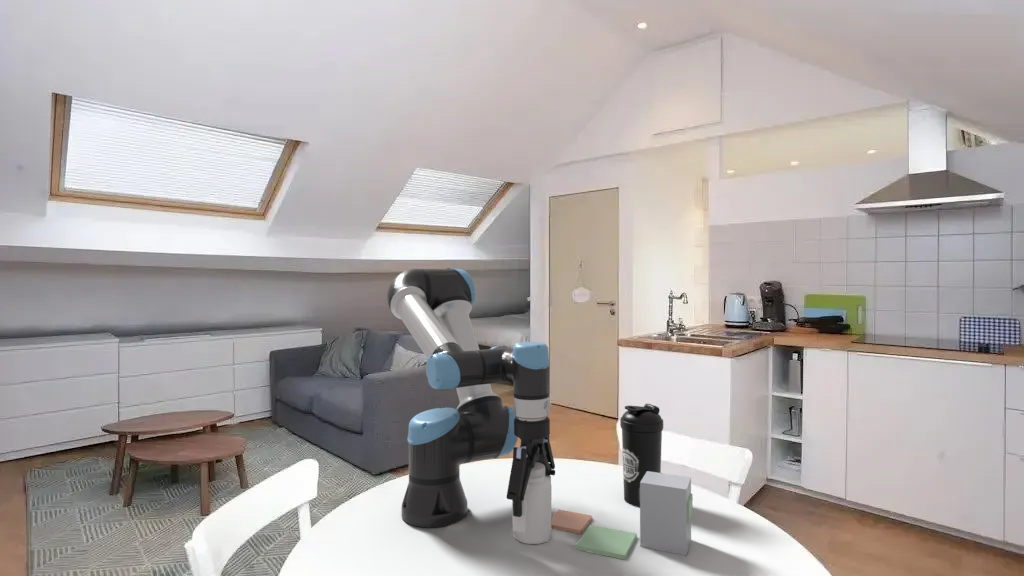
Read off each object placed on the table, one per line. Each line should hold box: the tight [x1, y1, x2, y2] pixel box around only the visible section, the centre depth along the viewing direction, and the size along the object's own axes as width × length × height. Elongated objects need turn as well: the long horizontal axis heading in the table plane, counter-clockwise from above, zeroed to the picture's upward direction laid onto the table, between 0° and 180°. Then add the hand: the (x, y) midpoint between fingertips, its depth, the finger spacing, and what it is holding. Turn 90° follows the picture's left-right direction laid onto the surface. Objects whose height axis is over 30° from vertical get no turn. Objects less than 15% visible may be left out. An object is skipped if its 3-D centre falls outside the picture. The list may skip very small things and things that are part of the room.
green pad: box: [575, 523, 638, 560], centre depth 113 cm, size 10×10×1 cm
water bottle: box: [619, 403, 664, 508], centre depth 134 cm, size 10×10×23 cm
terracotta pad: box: [551, 509, 593, 535], centre depth 122 cm, size 8×8×1 cm
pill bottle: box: [513, 462, 552, 545], centre depth 116 cm, size 8×8×15 cm
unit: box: [639, 471, 694, 556], centre depth 113 cm, size 10×7×13 cm
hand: (532, 517), depth 116 cm, fingers open, 13 cm apart
